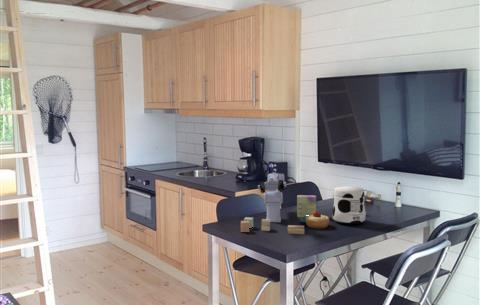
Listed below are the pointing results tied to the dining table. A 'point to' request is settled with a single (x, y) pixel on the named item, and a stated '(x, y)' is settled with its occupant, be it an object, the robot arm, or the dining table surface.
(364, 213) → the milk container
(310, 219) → the pastry
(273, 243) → the dining table surface
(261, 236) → the dining table surface
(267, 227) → the maple block
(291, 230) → the oak slab
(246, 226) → the terracotta block
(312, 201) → the box
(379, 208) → the dining table surface
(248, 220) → the sage block
